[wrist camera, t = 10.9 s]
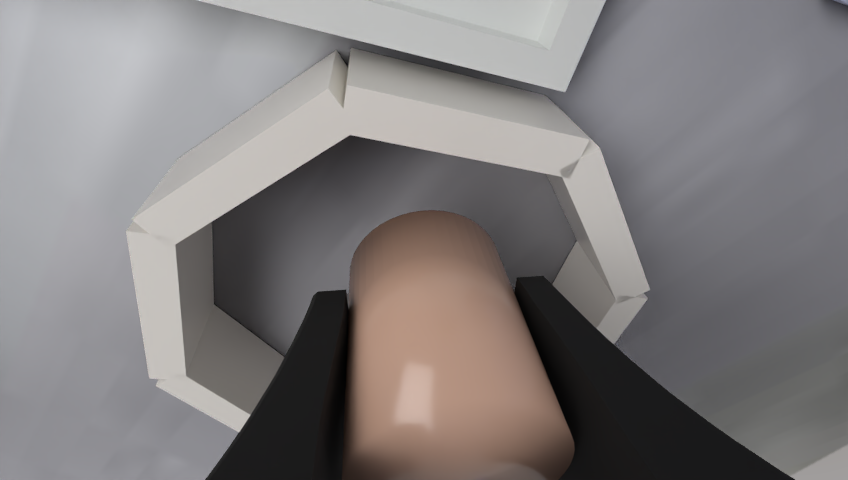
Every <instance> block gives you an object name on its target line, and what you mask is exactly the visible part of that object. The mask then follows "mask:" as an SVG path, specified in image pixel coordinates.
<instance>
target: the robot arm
mask: <svg viewBox="0 0 848 480" xmlns="http://www.w3.org/2000/svg"><path fill="white" fill-rule="evenodd" d="M833 1H836V2H839V3H842V4H844V5H847V6H848V0H833ZM514 294H515V296H516V299H517V301H518V303H519V306H520V308H521V311H522V313H523V316H524V318H525V321H526V323H527V326H528V328H529V331H530V333H531V336H532V338H533V341H534V343H535V346H536V348H537V351H538V353H539V356H540V358H541V361H542V363H543V365H544V368H545V370H546V373H547V375H548V378H549V380H550V383H551V385H552V388H553V390H554V393H555V395H556V398H557V400H558V403H559V405H560V408H561V410H562V413H563V415H564V418H565V420H566V423H567V425H568V427H569V430H570V432H571V435H572V438H573V440H574V447H575V451H574V456H573V459H572V461H571V464H570V466H569V467H568V469H567V470H566V472H565V473H564V474H563V475H562V476H561V477H560V478H559V479H558V480H795V479H793V478H791V477H790V476H788V475H787V474H785V473H783V472H782V471H780V470H779V469H777V468H776V467H774V466H773V465H771V464H770V463H768V462H767V461H765V460H764V459H762V458H761V457H759V456H758V455H756V454H755V453H753V452H752V451H750V450H749V449H747V448H746V447H744V446H742V445H741V444H739V443H738V442H736V441H735V440H734V439H732V438H731V437H729V436H728V435H726V434H725V433H724V432H722V431H721V430H719V429H718V428H716V427H715V426H714V425H712V424H711V423H710V422H708V421H707V420H706V419H704V418H703V417H701V416H700V415H699V414H697V413H696V412H695V411H693V410H692V409H691V408H689V407H688V406H687V405H685V404H684V403H683V402H681V401H680V400H679V399H677V398H676V397H675V396H674V395H672V394H671V393H670V392H669V391H667V390H666V389H665V388H663V387H662V386H661V385H660V384H659V383H657V382H656V381H655V380H654V379H653V378H651V377H650V376H649V375H648V374H647V373H646V372H644V371H643V370H642V369H641V368H640V367H638V366H637V365H636V364H635V363H634V362H632V361H631V360H630V359H629V358H628V357H627V356H626V355H625V354H623V353H622V352H621V351H620V350H619V349H618V348H617V347H616V346H615V345H614V344H613V343H612V342H610V341H609V340H608V339H607V338H606V337H605V336H604V335H603V334H602V333H601V332H600V331H599V330H598V329H597V328H595V327H594V326H593V325H592V324H591V323H590V322H589V321H588V320H587V319H586V318H585V317H584V316H583V315H582V314H581V313H580V312H579V311H578V310H577V309H576V308H575V307H574V306H573V305H572V304H571V303H570V302H569V301H568V300H567V299H566V298H565V297H564V296H563V295H562V294H561V293H560V292H559V291H558V290H557V289H556V288H555V287H554V286H553V285H552V284H551V283H550V282H549V281H548V280H547V279H546V278H545V277H544V276H535V277H521V278H517V281H516V287H515V292H514ZM348 311H349V309H348V301H347V294H346V290H336V291H322V292H317V293H316V294H315V295H314V296H313V298H312V301H311V303H310V306H309V308H308V311H307V313H306V315H305V318H304V320H303V322H302V324H301V326H300V328H299V330H298V332H297V334H296V336H295V339H294V341H293V343H292V345H291V346H290V348H289V350H288V352H287V354H286V356H285V357H284V359H283V361H282V363H281V365H280V367H279V369H278V370H277V372H276V374H275V376H274V378H273V379H272V381H271V383H270V384H269V386H268V388H267V389H266V391H265V392H264V394H263V396H262V397H261V399H260V401H259V402H258V404H257V405H256V407H255V409H254V410H253V412H252V414H251V415H250V417H249V418H248V420H247V421H246V423H245V424H244V426H243V427H242V429H241V430H240V432H239V433H238V435H237V436H236V438H235V439H234V441H233V442H232V444H231V445H230V447H229V448H228V449H227V451H226V452H225V454H224V455H223V456H222V458H221V459H220V460H219V462H218V463H217V465H216V466H215V467H214V469H213V470H212V472H211V473H210V474H209V476H208V477H207V478H206V479H205V480H342V465H343V438H344V412H345V386H346V360H347V337H348Z"/></svg>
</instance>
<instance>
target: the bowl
mask: <svg viewBox="0 0 848 480" xmlns="http://www.w3.org/2000/svg"><path fill="white" fill-rule="evenodd" d="M349 135H353V136H358V137H363V138H368V139H373V140H378V141H383V142H388V143H393V144H398V145H403V146H408V147H413V148H418V149H423V150H429V151H434V152H439V153H444V154H449V155H454V156H459V157H464V158H469V159H474V160H479V161H484V162H489V163H494V164H499V165H504V166H510V167H515V168H520V169H525V170H530V171H535V172H540V173H545V174H546V175H547V177H548V179H549V181H550V183H551V185H552V188H553V190H554V192H555V194H556V196H557V198H558V201H559V203H560V205H561V207H562V209H563V211H564V214H565V216H566V218H567V220H568V222H569V224H570V227H571V229H572V231H573V233H574V235H575V237H576V240H577V241H576V243H575V245H574V247H573V248H572V250H571V252H570V254H569V255H568V257H567V259H566V261H565V263H564V264H563V266H562V268H561V270H560V271H559V273H558V275H557V277H556V278H555V280H554V282H553V284H552V285H553V286H554V287H555V288H556V289H557V290H558V291H559V292H560V293H561V294H562V295H563V296H564V297H565V298H566V299H567V300H568V301H569V302H570V303H571V304H572V305H573V306H574V307H575V308H576V309H577V310H578V311H579V312H580V313H581V314H582V315H583V316H584V317H585V318H586V319H587V320H588V321H589V322H590V323H591V324H592V325H593V326H594V327H595V328H597V329H598V330H599V331H600V332H601V333H602V334H603V335H604V336H605V337H606V338H607V339H608V340H609V341H610V342H612V343H613V344H614V343H615V342H616V341H617V339H618V338H619V337H620V335H621V334H622V333H623V331H624V330H625V329H626V327H627V326H628V325H629V323H630V322H631V321H632V319H633V318H634V317H635V315H636V314H637V313H638V311H639V310H640V309H641V307H642V306H643V305H644V303H645V302H646V301H647V299H648V298H647V297H646V295H645V294H644V293H645V292H647V291H649V290H650V288H649V285H648V282H647V280H646V277H645V274H644V271H643V268H642V265H641V263H640V260H639V257H638V254H637V251H636V248H635V246H634V243H633V240H632V237H631V234H630V232H629V229H628V226H627V223H626V220H625V217H624V215H623V212H622V209H621V206H620V203H619V200H618V198H617V195H616V192H615V189H614V186H613V183H612V181H611V178H610V175H609V172H608V169H607V167H606V164H605V161H604V158H603V155H602V152H601V150H600V148H599V147H598V146H597V145H596V144H595V143H594V142H593V141H592V140H591V139H590V138H589V137H588V136H587V135H586V134H585V133H584V132H583V131H582V130H581V129H580V128H579V127H578V126H577V125H576V124H575V123H574V122H573V121H572V120H571V119H570V118H569V117H568V116H567V115H566V114H565V113H564V112H563V111H562V110H561V109H560V108H559V107H558V106H557V105H556V104H555V103H553V102H552V101H551V100H550V99H549V98H548V97H547V96H546V95H542V94H538V93H534V92H530V91H526V90H522V89H518V88H514V87H510V86H506V85H502V84H498V83H493V82H489V81H485V80H481V79H477V78H473V77H469V76H465V75H461V74H457V73H453V72H449V71H444V70H440V69H436V68H432V67H428V66H424V65H420V64H416V63H412V62H408V61H404V60H400V59H396V58H391V57H387V56H383V55H379V54H375V53H371V52H367V51H363V50H359V49H355V48H351V50H350V56H349V63H348V67H347V65H346V64H345V62H344V61H343V59H342V58H341V56H340V55H339V53H338V52H337V50H336V51H334V52H333V53H331V54H330V55H328V56H327V57H325V58H324V59H323V60H321V61H320V62H318V63H317V64H315V65H314V66H312V67H311V68H309V69H308V70H307V71H305V72H304V73H302V74H301V75H299V76H298V77H296V78H295V79H293V80H292V81H291V82H289V83H288V84H286V85H285V86H283V87H282V88H280V89H279V90H277V91H276V92H275V93H273V94H272V95H270V96H269V97H267V98H266V99H264V100H263V101H261V102H260V103H259V104H257V105H256V106H254V107H253V108H251V109H250V110H248V111H247V112H245V113H244V114H243V115H241V116H240V117H238V118H237V119H235V120H234V121H232V122H231V123H229V124H228V125H227V126H225V127H224V128H222V129H221V130H219V131H218V132H216V133H215V134H213V135H212V136H211V137H209V138H208V139H206V140H205V141H203V142H202V143H200V144H199V145H197V146H196V147H195V148H193V149H192V150H190V151H189V152H187V153H186V154H184V155H183V156H181V157H180V158H179V159H177V161H176V162H175V163H174V164H173V166H172V167H171V168H170V170H169V171H168V172H167V174H166V175H165V176H164V177H163V179H162V180H161V181H160V183H159V184H158V185H157V187H156V188H155V189H154V191H153V192H152V193H151V194H150V196H149V197H148V198H147V200H146V201H145V202H144V204H143V205H142V206H141V207H140V209H139V210H138V211H137V213H136V214H135V215H134V217H133V218H132V219H131V220H133V222H132V224H131V225H130V226H129V228H128V229H127V230H126V234H127V240H128V246H129V253H130V259H131V265H132V272H133V278H134V284H135V291H136V297H137V303H138V310H139V316H140V322H141V329H142V335H143V341H144V348H145V354H146V360H147V367H148V373H149V378H150V379H159V380H158V382H157V384H156V386H157V387H159V388H161V389H162V390H164V391H166V392H168V393H170V394H171V395H173V396H175V397H177V398H178V399H180V400H182V401H184V402H186V403H187V404H189V405H191V406H193V407H195V408H196V409H198V410H200V411H202V412H203V413H205V414H207V415H209V416H211V417H212V418H214V419H216V420H218V421H220V422H221V423H223V424H225V425H227V426H229V427H230V428H232V429H234V430H236V431H237V432H240V430H241V429H242V427H243V426H244V424H245V423H246V421H247V420H248V418H249V417H250V415H251V414H252V412H253V410H254V409H255V407H256V405H257V404H258V402H259V401H260V399H261V397H262V396H263V394H264V392H265V391H266V389H267V388H268V386H269V384H270V383H271V381H272V379H273V378H274V376H275V374H276V372H277V370H278V369H279V367H280V365H281V363H282V361H283V359H284V356H282V355H281V354H280V353H278V352H277V351H276V350H274V349H273V348H272V347H270V346H269V345H268V344H266V343H265V342H264V341H262V340H261V339H260V338H258V337H257V336H256V335H254V334H253V333H252V332H250V331H249V330H248V329H246V328H245V327H244V326H242V325H241V324H239V323H238V322H237V321H235V320H234V319H233V318H231V317H230V316H229V315H227V314H226V313H225V312H223V311H222V310H221V309H219V308H218V307H217V306H215V305H214V285H213V238H212V221H214V220H215V219H217V218H218V217H220V216H222V215H223V214H225V213H226V212H228V211H230V210H231V209H233V208H234V207H236V206H238V205H239V204H241V203H242V202H244V201H246V200H247V199H249V198H250V197H252V196H254V195H255V194H257V193H258V192H260V191H261V190H263V189H265V188H266V187H268V186H269V185H271V184H273V183H274V182H276V181H277V180H279V179H281V178H282V177H284V176H285V175H287V174H289V173H290V172H292V171H293V170H295V169H297V168H298V167H300V166H301V165H303V164H304V163H306V162H308V161H309V160H311V159H312V158H314V157H316V156H317V155H319V154H320V153H322V152H324V151H325V150H327V149H328V148H330V147H332V146H333V145H335V144H336V143H338V142H340V141H341V140H343V139H344V138H346V137H347V136H349Z"/></svg>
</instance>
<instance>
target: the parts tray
mask: <svg viewBox="0 0 848 480" xmlns="http://www.w3.org/2000/svg"><path fill="white" fill-rule="evenodd" d="M198 1H202V2H206V3H210V4H214V5H218V6H222V7H226V8H230V9H234V10H238V11H242V12H246V13H250V14H254V15H258V16H262V17H266V18H270V19H274V20H278V21H282V22H286V23H290V24H294V25H298V26H302V27H306V28H310V29H314V30H318V31H322V32H326V33H330V34H334V35H338V36H342V37H346V38H350V39H354V40H358V41H362V42H366V43H370V44H374V45H378V46H382V47H386V48H390V49H394V50H398V51H402V52H406V53H410V54H414V55H418V56H422V57H426V58H430V59H434V60H438V61H442V62H446V63H450V64H454V65H458V66H462V67H466V68H470V69H474V70H478V71H482V72H486V73H490V74H494V75H498V76H502V77H506V78H510V79H514V80H518V81H522V82H526V83H530V84H534V85H538V86H542V87H546V88H550V89H554V90H558V91H562V92H566V89H567V87H568V85H569V83H570V80H571V78H572V76H573V74H574V71H575V69H576V67H577V64H578V62H579V60H580V58H581V55H582V53H583V51H584V49H585V46H586V44H587V42H588V40H589V37H590V35H591V33H592V31H593V28H594V26H595V24H596V21H597V19H598V17H599V15H600V12H601V10H602V8H603V6H604V3H605V1H606V0H198Z"/></svg>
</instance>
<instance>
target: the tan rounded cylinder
mask: <svg viewBox="0 0 848 480" xmlns="http://www.w3.org/2000/svg"><path fill="white" fill-rule="evenodd" d="M348 309H349V311H348V337H347V360H346V386H345V412H344V438H343V465H342V480H558V479H559V478H560V477H561V476H562V475H563V474H564V473H565V472H566V470H567V469H568V467H569V466H570V464H571V461H572V459H573V456H574V451H575V447H574V440H573V438H572V435H571V432H570V430H569V427H568V425H567V423H566V420H565V418H564V415H563V413H562V410H561V408H560V405H559V403H558V400H557V398H556V395H555V393H554V390H553V388H552V385H551V383H550V380H549V378H548V375H547V373H546V370H545V368H544V365H543V363H542V361H541V358H540V356H539V353H538V351H537V348H536V346H535V343H534V341H533V338H532V336H531V333H530V331H529V328H528V326H527V323H526V321H525V318H524V316H523V313H522V311H521V308H520V306H519V303H518V301H517V299H516V296H515V294H514V291H513V289H512V286H511V284H510V281H509V279H508V276H507V274H506V271H505V269H504V266H503V264H502V261H501V259H500V256H499V254H498V251H497V249H496V246H495V244H494V242H493V240H492V239H491V237H490V236H489V234H488V233H487V232H486V231H485V230H484V229H483V228H482V227H481V226H479V225H478V224H477V223H475V222H474V221H472V220H470V219H468V218H466V217H464V216H461V215H458V214H455V213H451V212H445V211H435V210H428V211H417V212H411V213H407V214H403V215H400V216H397V217H395V218H392V219H390V220H388V221H386V222H384V223H383V224H381V225H379V226H378V227H377V228H375V229H374V230H372V231H371V232H370V233H369V234H368V235H367V236H366V237H365V238H364V239H363V241H362V242H361V243H360V244H359V246H358V248H357V249H356V251H355V253H354V255H353V258H352V261H351V265H350V280H349V307H348Z"/></svg>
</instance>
